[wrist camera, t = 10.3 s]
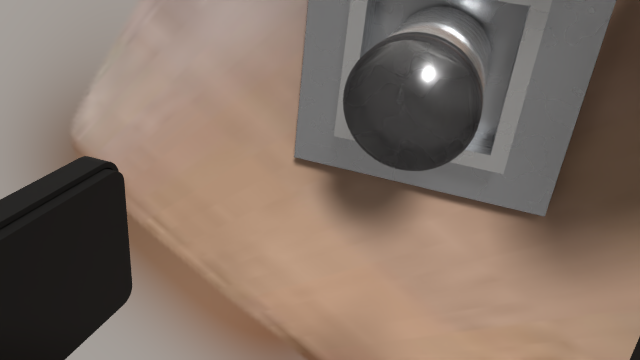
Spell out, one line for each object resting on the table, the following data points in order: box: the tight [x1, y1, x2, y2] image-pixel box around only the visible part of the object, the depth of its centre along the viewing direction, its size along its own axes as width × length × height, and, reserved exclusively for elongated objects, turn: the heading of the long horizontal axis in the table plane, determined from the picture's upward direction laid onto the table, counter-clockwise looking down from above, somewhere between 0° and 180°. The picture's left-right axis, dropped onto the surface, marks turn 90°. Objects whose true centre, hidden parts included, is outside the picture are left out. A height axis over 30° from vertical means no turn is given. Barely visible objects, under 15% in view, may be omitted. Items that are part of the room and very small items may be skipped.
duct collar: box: [294, 0, 616, 217], centre depth 28 cm, size 14×14×3 cm
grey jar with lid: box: [343, 7, 491, 171], centre depth 25 cm, size 5×5×8 cm
